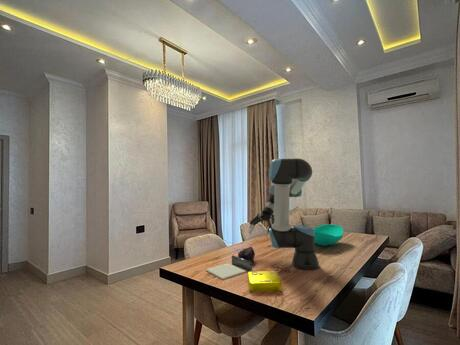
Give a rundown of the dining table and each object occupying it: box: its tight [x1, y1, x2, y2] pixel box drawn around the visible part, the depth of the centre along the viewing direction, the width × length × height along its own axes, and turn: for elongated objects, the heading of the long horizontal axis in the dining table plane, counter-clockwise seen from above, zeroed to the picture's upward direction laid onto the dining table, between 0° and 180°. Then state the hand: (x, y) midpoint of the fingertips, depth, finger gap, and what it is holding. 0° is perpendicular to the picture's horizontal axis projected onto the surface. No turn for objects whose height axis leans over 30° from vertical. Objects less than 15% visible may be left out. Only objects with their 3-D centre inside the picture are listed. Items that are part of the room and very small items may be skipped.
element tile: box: [247, 270, 282, 293], centre depth 114 cm, size 15×15×5 cm
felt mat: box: [205, 262, 247, 281], centre depth 132 cm, size 17×16×1 cm
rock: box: [237, 246, 256, 262], centre depth 149 cm, size 12×9×10 cm
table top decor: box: [313, 223, 345, 247], centre depth 185 cm, size 40×28×13 cm
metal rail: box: [231, 255, 253, 272], centre depth 139 cm, size 17×2×5 cm, turn 37°
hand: (257, 234), depth 157 cm, fingers open, 13 cm apart
